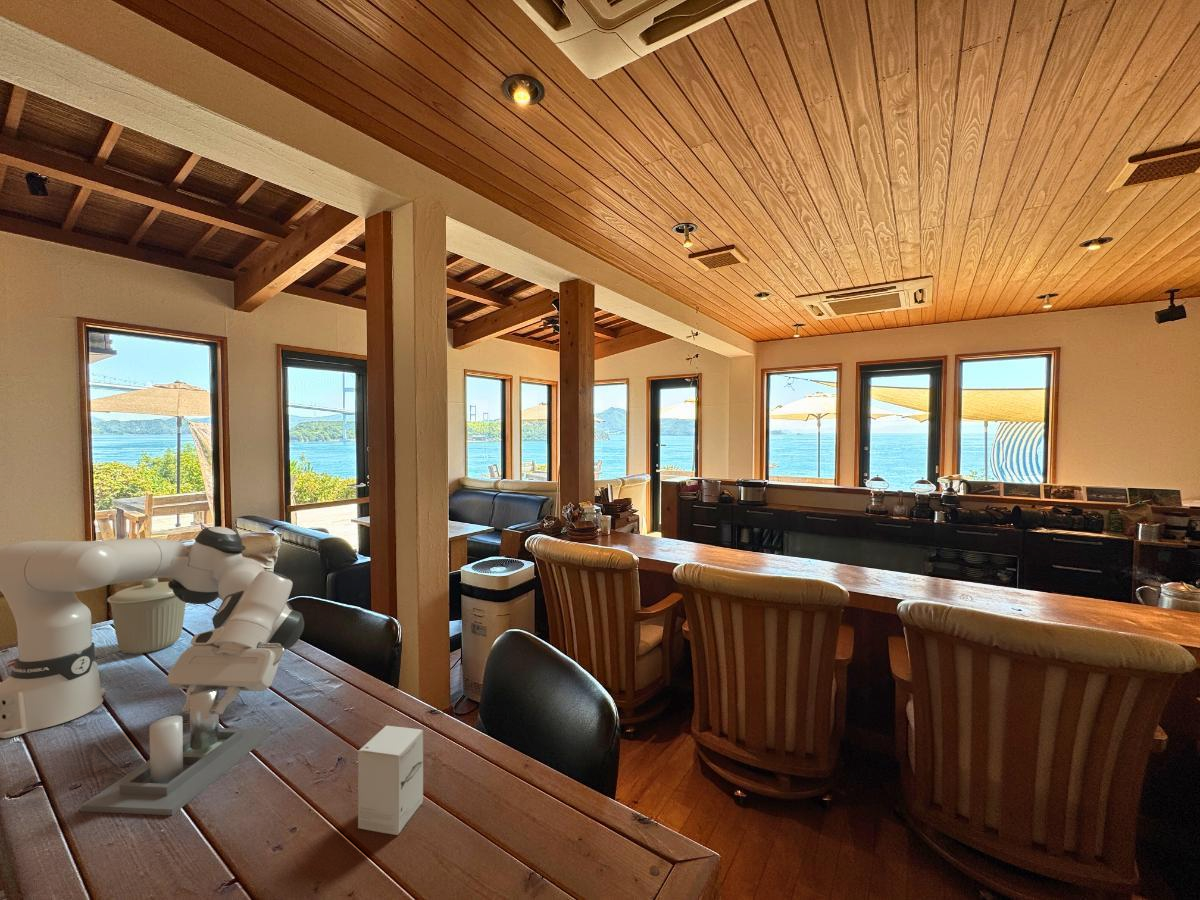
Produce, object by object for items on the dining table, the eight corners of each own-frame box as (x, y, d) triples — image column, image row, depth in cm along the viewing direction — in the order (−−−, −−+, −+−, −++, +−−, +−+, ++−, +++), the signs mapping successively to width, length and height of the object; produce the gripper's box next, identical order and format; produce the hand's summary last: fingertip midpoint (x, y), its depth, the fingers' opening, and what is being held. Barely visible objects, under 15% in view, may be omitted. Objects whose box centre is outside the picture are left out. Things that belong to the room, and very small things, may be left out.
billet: (183, 749, 93) (183, 697, 93) (203, 735, 97) (203, 685, 97) (205, 750, 92) (205, 698, 92) (224, 736, 97) (224, 686, 97)
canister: (156, 633, 155) (155, 568, 155) (206, 636, 153) (205, 570, 153) (89, 658, 137) (88, 584, 137) (144, 662, 135) (143, 587, 135)
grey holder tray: (80, 811, 80) (79, 745, 80) (198, 732, 102) (197, 680, 102) (172, 815, 79) (171, 749, 79) (270, 734, 101) (270, 682, 101)
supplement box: (398, 837, 75) (397, 756, 75) (356, 829, 77) (355, 750, 76) (424, 802, 82) (424, 728, 82) (386, 795, 84) (385, 723, 84)
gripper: (295, 649, 105) (261, 719, 96) (205, 647, 106) (163, 716, 97) (280, 637, 101) (243, 709, 91) (186, 635, 102) (140, 706, 92)
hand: (201, 713), depth 94 cm, fingers closed on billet, 4 cm apart
